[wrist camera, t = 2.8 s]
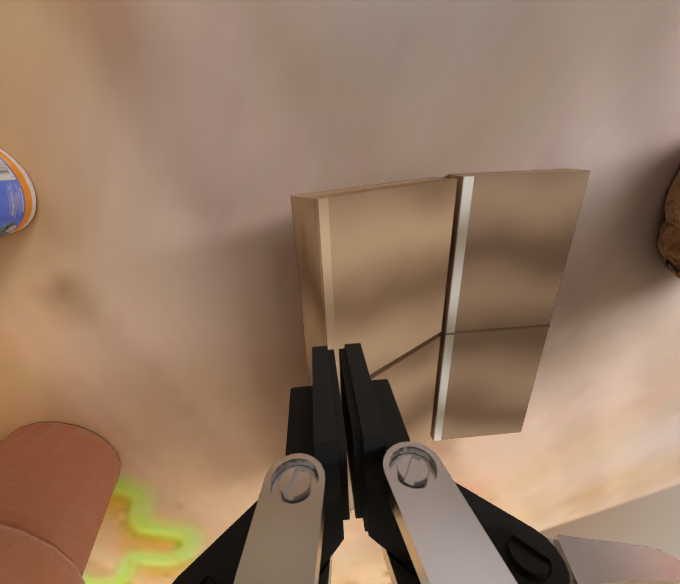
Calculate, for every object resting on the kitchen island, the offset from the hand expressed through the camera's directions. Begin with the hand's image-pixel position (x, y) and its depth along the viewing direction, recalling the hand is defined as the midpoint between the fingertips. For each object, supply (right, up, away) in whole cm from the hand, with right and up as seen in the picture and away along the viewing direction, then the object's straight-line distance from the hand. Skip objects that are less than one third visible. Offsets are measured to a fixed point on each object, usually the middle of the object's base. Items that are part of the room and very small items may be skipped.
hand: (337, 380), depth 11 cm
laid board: (+11, +1, +13) cm, 18 cm away
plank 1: (+2, +4, +8) cm, 9 cm away
